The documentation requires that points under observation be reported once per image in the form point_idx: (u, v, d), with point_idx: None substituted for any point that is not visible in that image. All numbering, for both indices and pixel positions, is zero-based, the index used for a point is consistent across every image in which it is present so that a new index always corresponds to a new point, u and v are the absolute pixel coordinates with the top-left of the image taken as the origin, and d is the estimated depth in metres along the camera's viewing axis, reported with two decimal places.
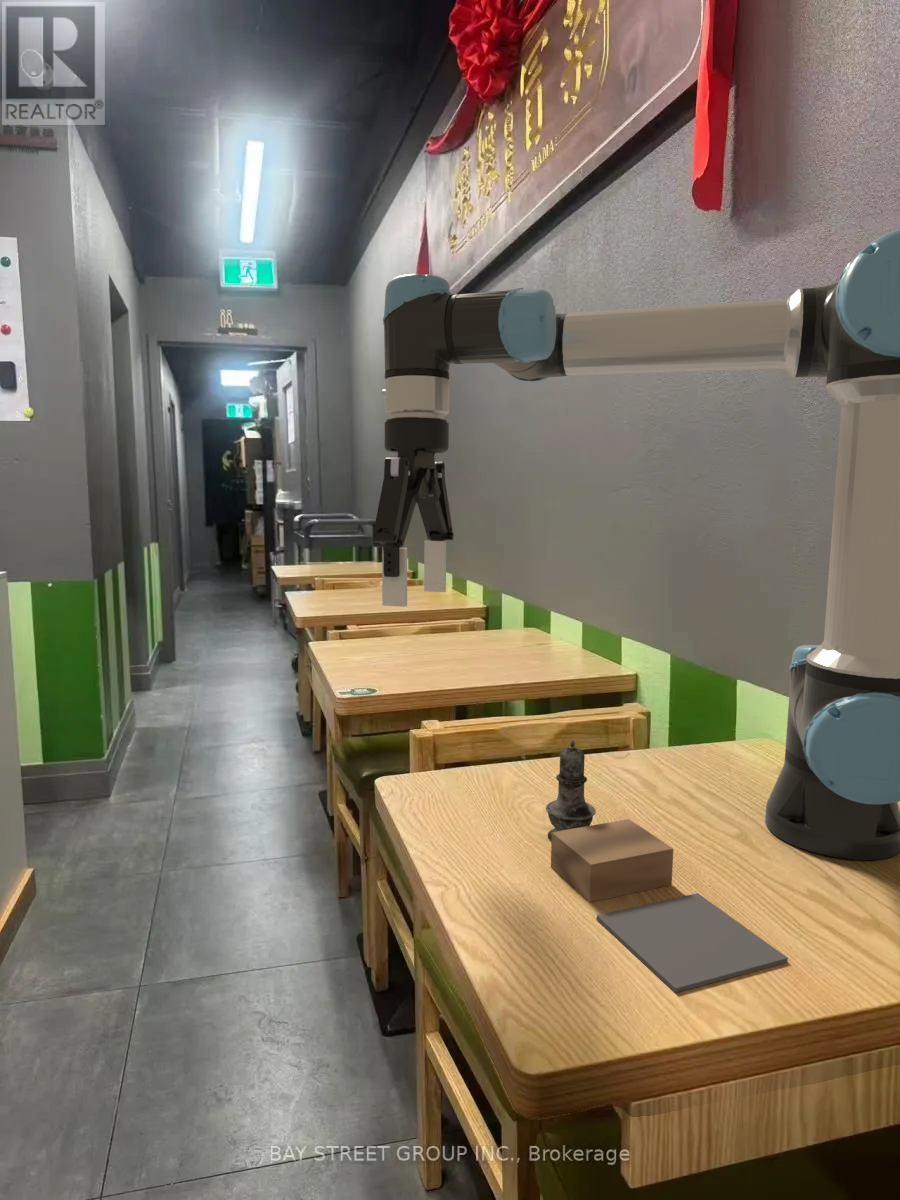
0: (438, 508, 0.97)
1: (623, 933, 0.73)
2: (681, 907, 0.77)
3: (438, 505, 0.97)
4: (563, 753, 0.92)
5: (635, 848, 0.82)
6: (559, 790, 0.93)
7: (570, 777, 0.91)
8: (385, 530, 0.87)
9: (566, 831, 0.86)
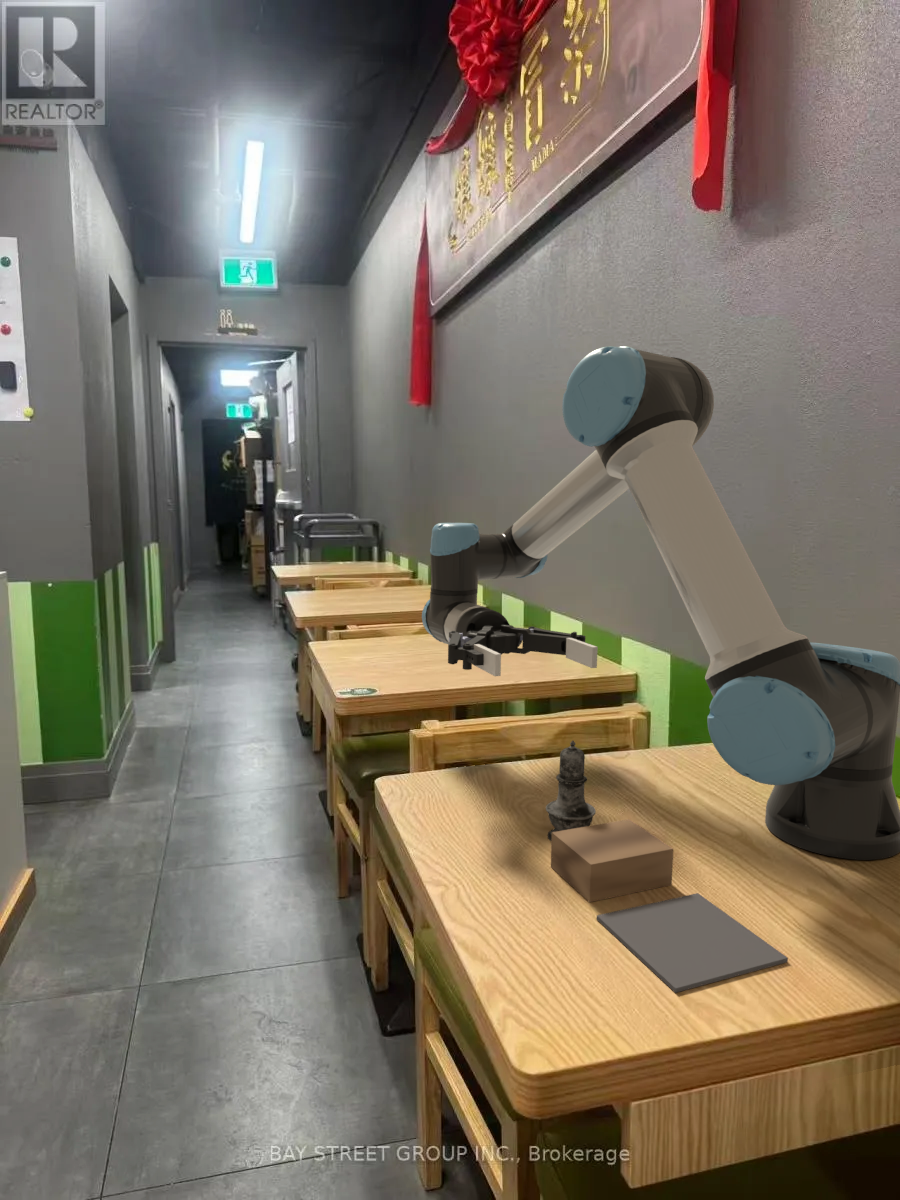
0: (539, 634, 1.09)
1: (623, 933, 0.73)
2: (681, 907, 0.77)
3: (537, 634, 1.09)
4: (563, 753, 0.92)
5: (635, 848, 0.82)
6: (559, 790, 0.93)
7: (570, 777, 0.91)
8: None
9: (566, 831, 0.86)
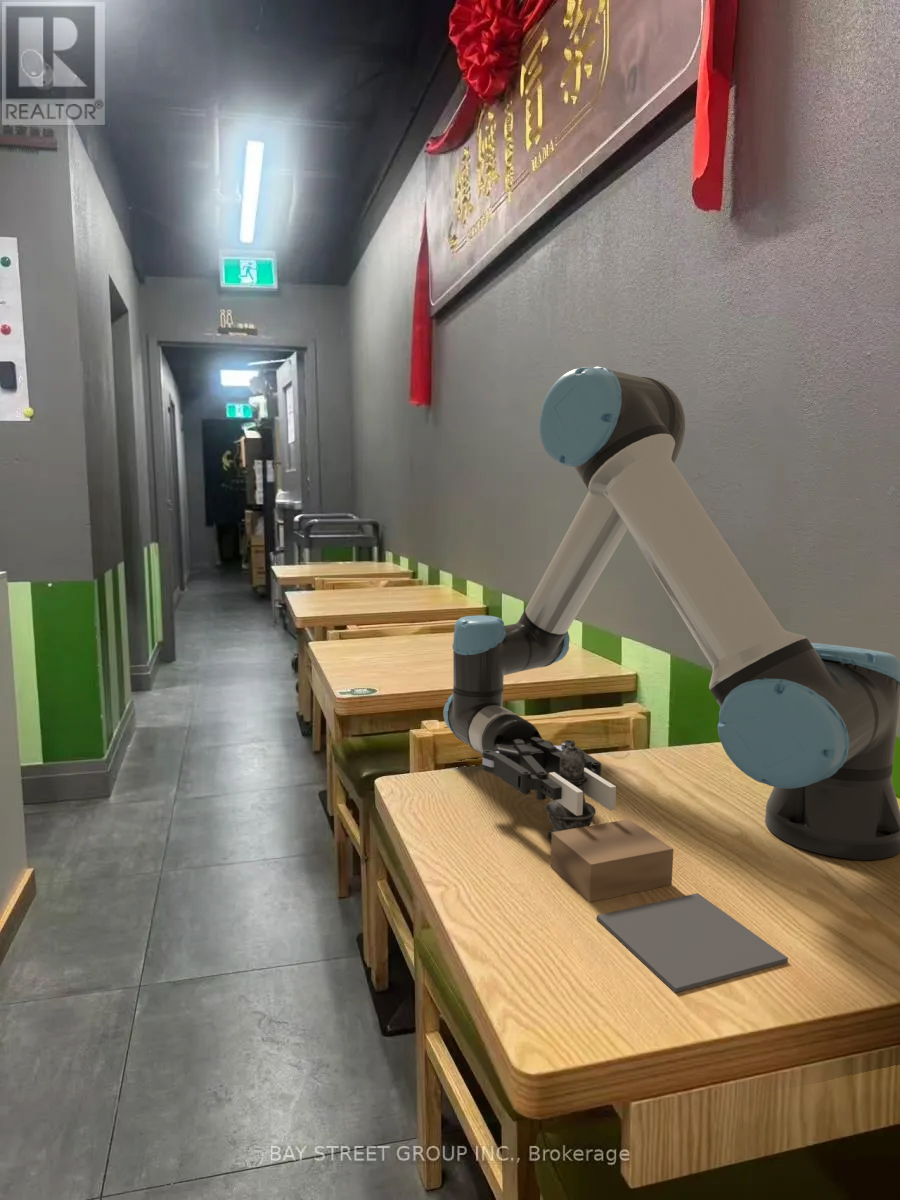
0: None
1: (623, 933, 0.73)
2: (681, 907, 0.77)
3: (559, 754, 0.99)
4: (563, 753, 0.92)
5: (635, 848, 0.82)
6: None
7: (570, 776, 0.91)
8: None
9: (566, 831, 0.86)
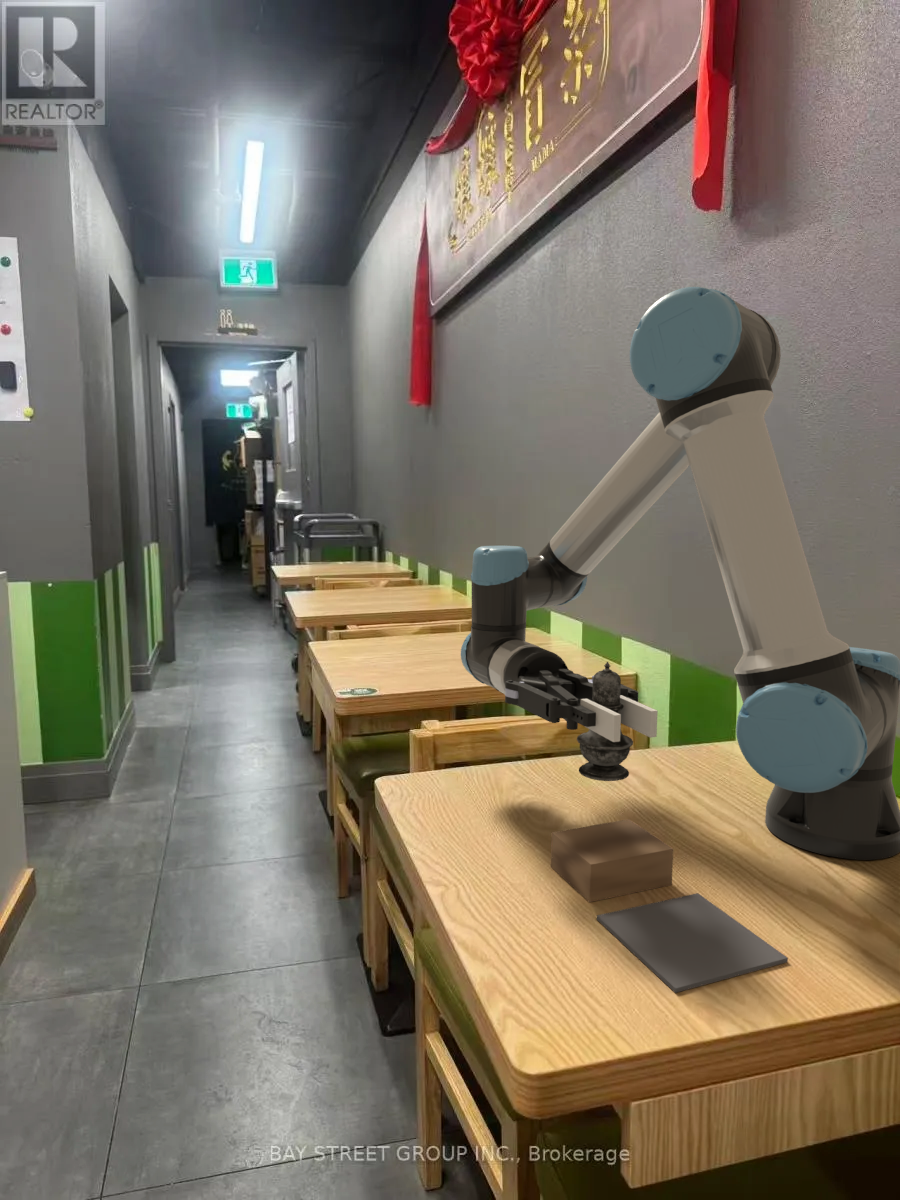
0: (591, 685, 0.89)
1: (623, 933, 0.73)
2: (681, 907, 0.77)
3: (591, 684, 0.90)
4: (597, 676, 0.82)
5: (635, 848, 0.82)
6: None
7: (605, 702, 0.81)
8: None
9: (566, 831, 0.86)
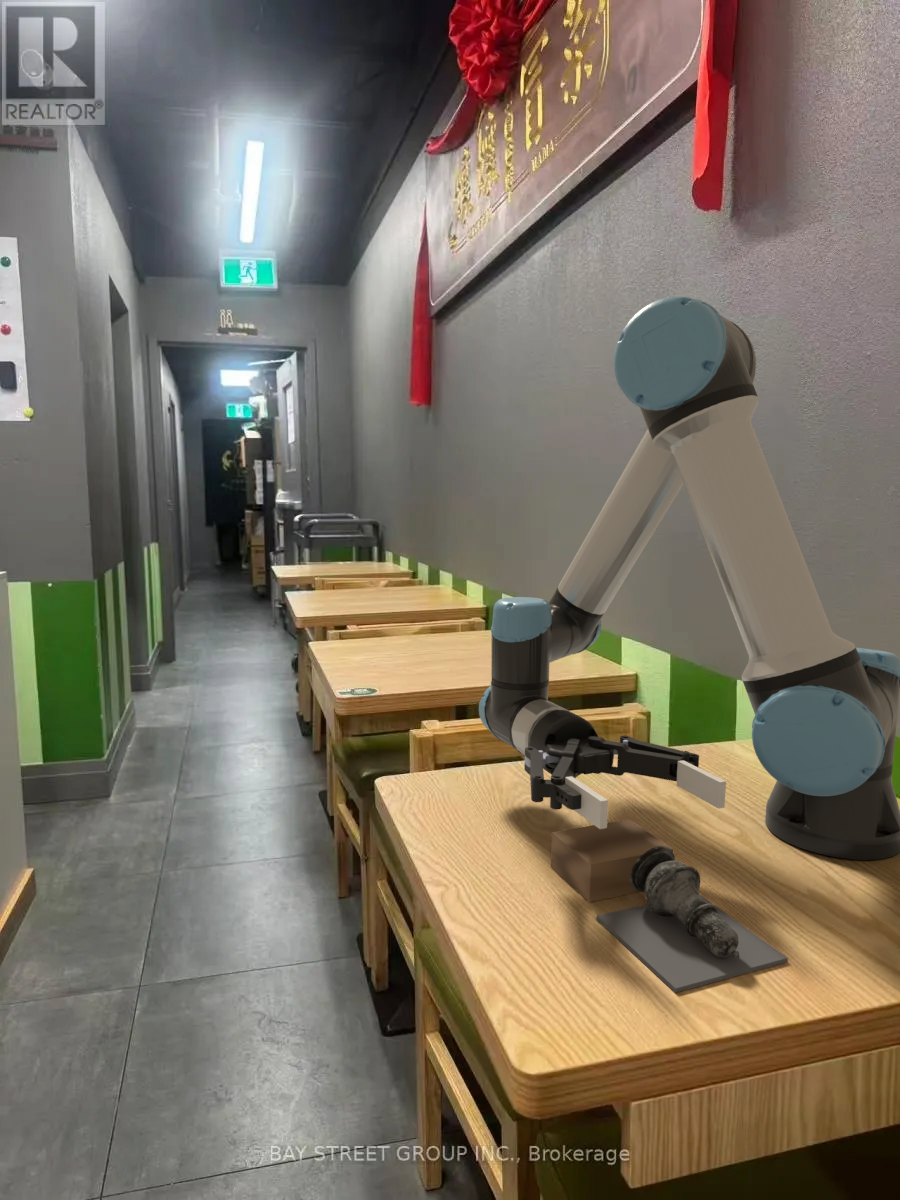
0: (639, 752, 0.86)
1: (623, 933, 0.73)
2: None
3: (637, 751, 0.86)
4: (716, 949, 0.68)
5: (635, 848, 0.82)
6: (680, 910, 0.72)
7: None
8: None
9: (566, 831, 0.86)
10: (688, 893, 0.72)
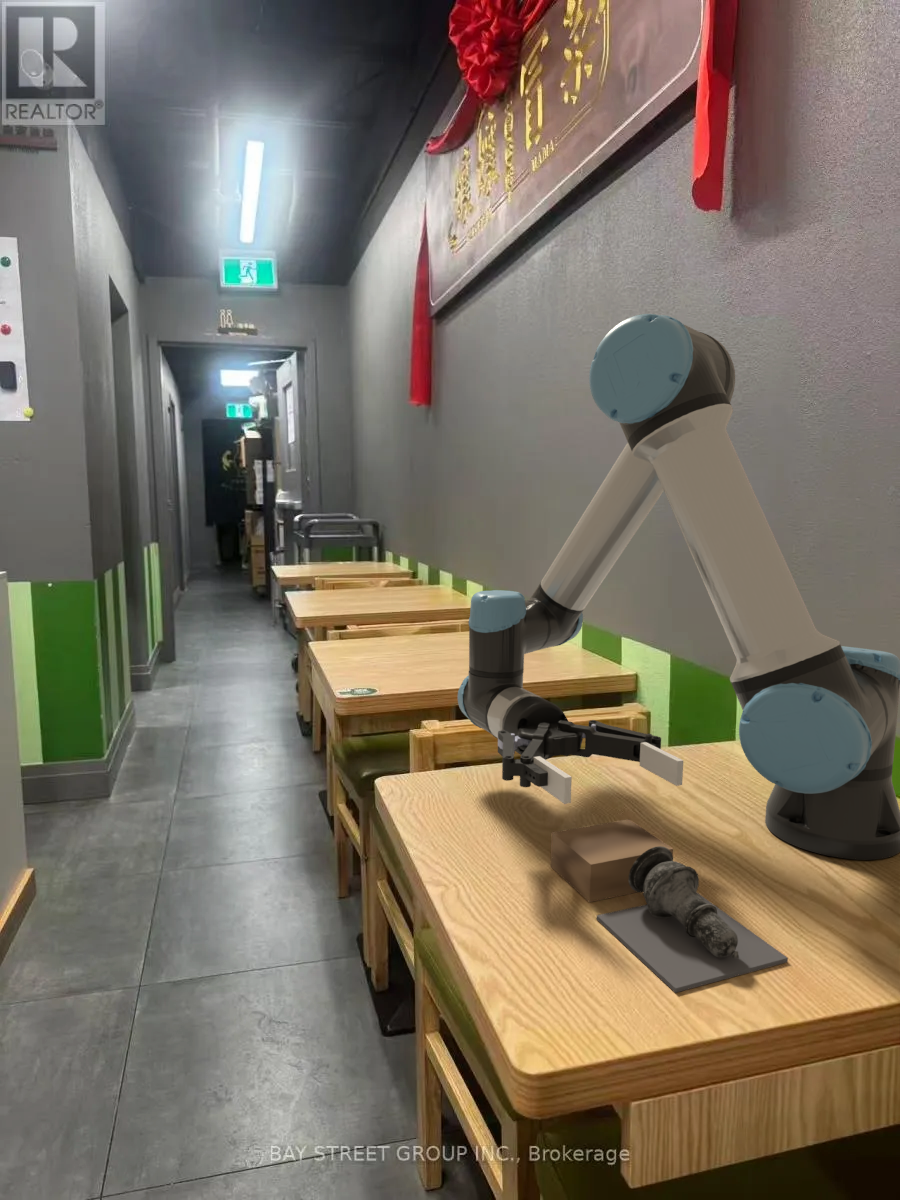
0: (605, 735, 0.91)
1: (623, 933, 0.73)
2: None
3: (603, 734, 0.92)
4: (715, 950, 0.68)
5: (635, 848, 0.82)
6: (679, 911, 0.72)
7: (697, 937, 0.71)
8: None
9: (566, 831, 0.86)
10: (686, 893, 0.72)
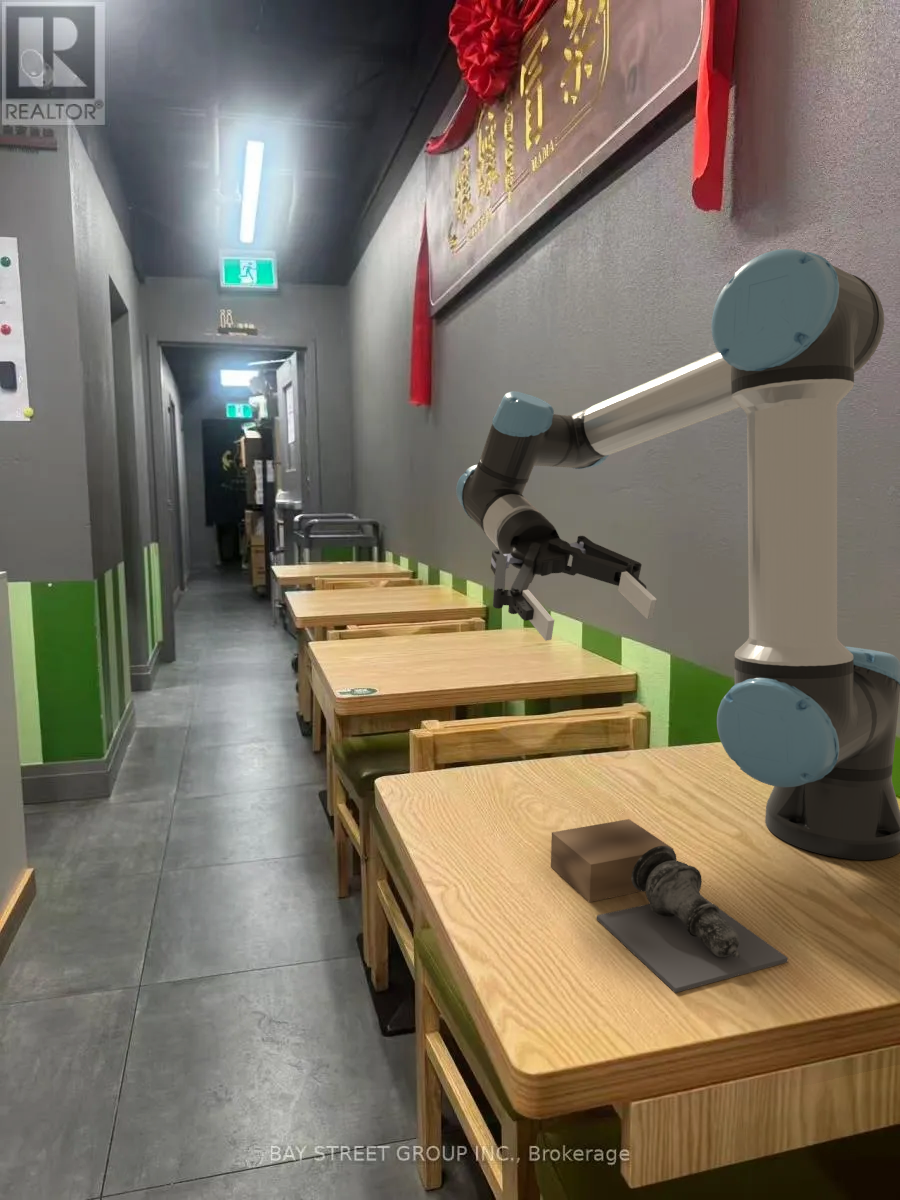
0: (590, 559, 0.99)
1: (623, 933, 0.73)
2: None
3: (589, 557, 0.99)
4: (717, 948, 0.68)
5: (635, 848, 0.82)
6: (681, 909, 0.72)
7: (698, 936, 0.71)
8: None
9: (566, 831, 0.86)
10: (690, 892, 0.72)
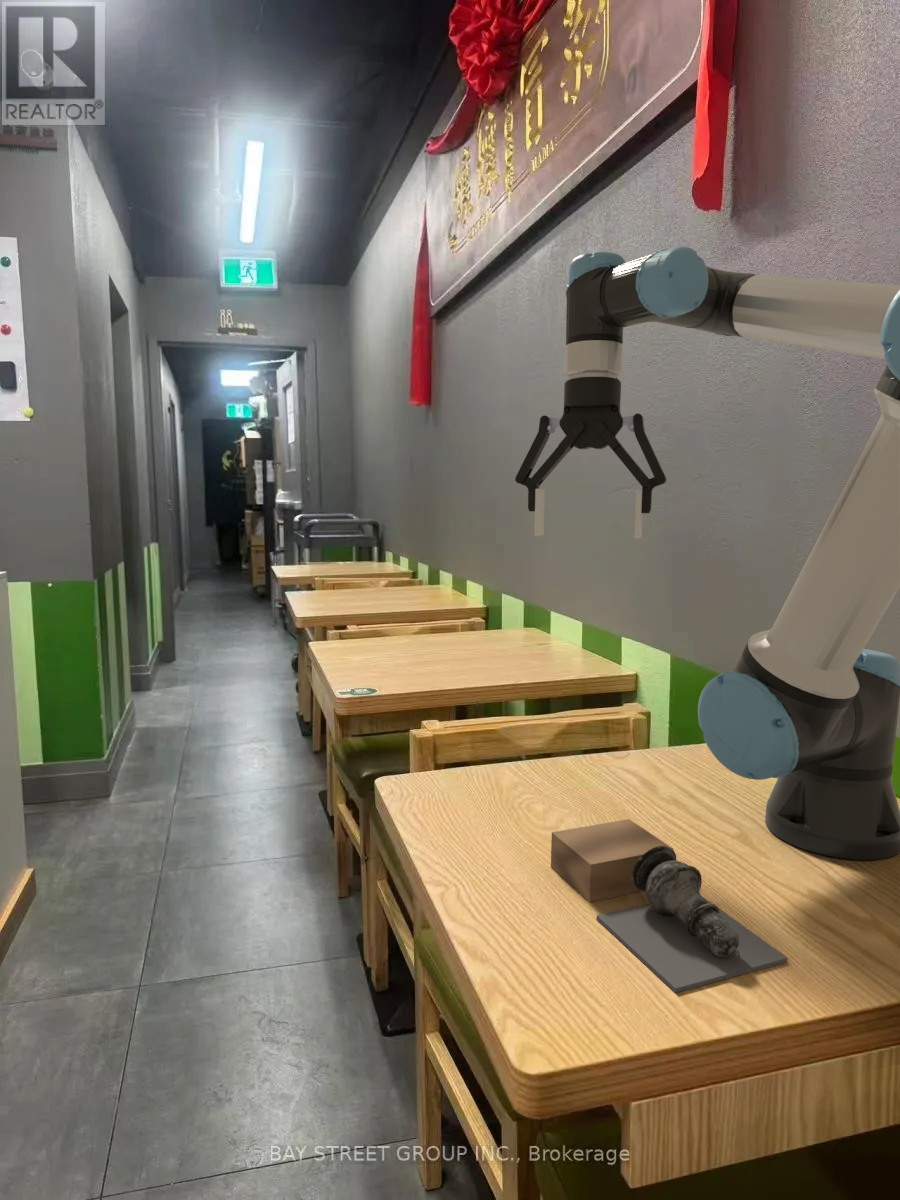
0: (622, 457, 1.04)
1: (623, 933, 0.73)
2: None
3: (622, 455, 1.04)
4: (717, 948, 0.68)
5: (635, 848, 0.82)
6: (681, 909, 0.72)
7: (698, 936, 0.71)
8: None
9: (566, 831, 0.86)
10: (690, 892, 0.72)
